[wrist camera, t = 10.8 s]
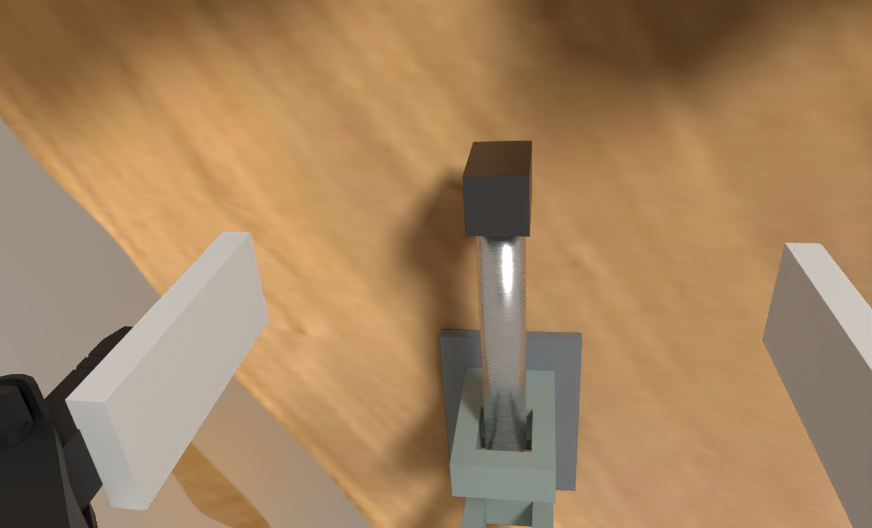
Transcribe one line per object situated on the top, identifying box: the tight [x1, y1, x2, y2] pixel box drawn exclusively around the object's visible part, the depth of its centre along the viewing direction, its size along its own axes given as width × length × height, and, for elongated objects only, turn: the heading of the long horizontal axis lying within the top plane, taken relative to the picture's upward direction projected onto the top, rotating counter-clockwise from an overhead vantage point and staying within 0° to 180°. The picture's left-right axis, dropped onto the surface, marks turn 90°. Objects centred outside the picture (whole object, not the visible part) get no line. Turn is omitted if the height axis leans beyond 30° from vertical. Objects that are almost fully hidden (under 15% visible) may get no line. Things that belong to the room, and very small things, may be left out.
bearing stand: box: [440, 329, 582, 528], centre depth 51 cm, size 16×11×12 cm
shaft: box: [463, 141, 532, 452], centre depth 43 cm, size 22×4×6 cm, turn 4°
